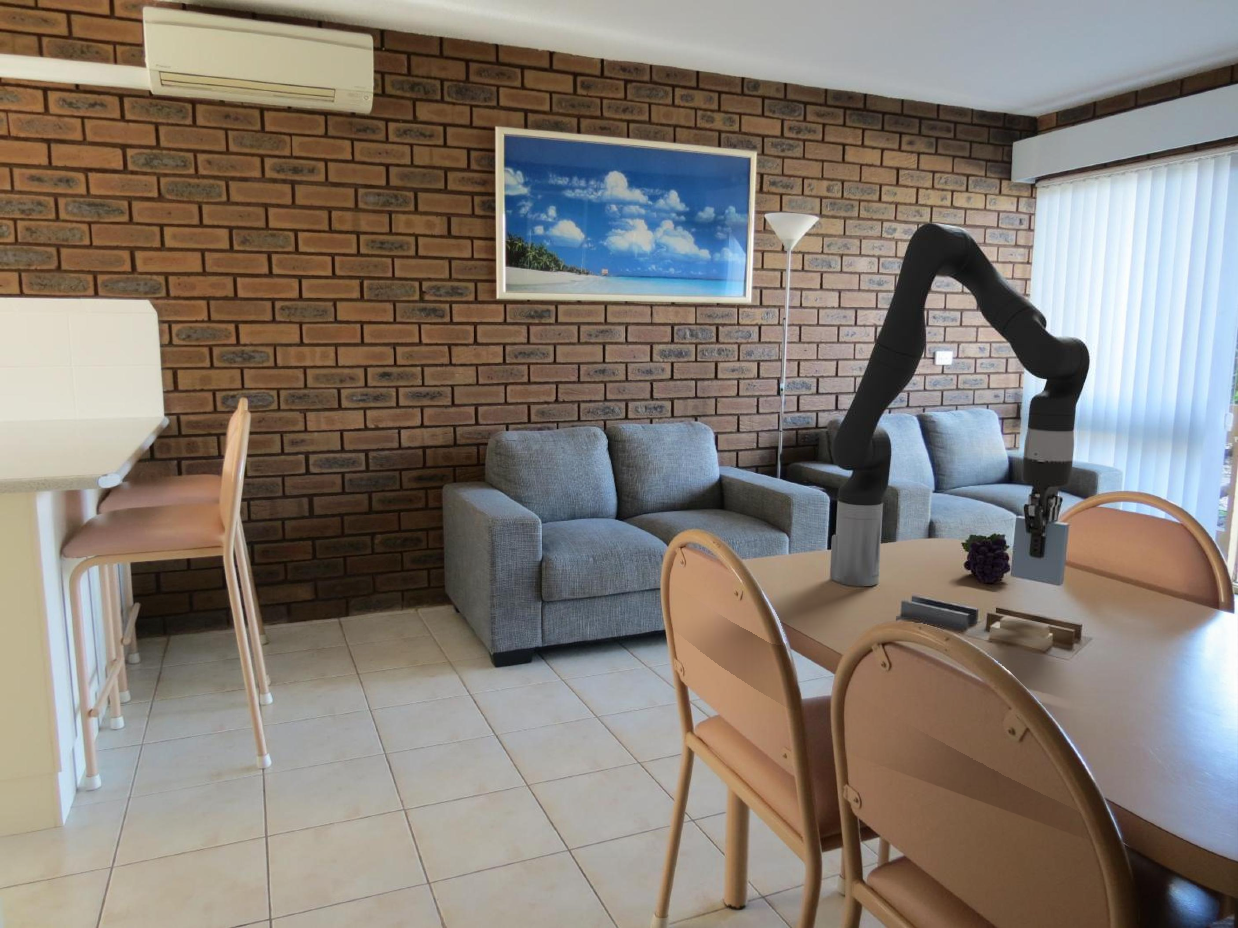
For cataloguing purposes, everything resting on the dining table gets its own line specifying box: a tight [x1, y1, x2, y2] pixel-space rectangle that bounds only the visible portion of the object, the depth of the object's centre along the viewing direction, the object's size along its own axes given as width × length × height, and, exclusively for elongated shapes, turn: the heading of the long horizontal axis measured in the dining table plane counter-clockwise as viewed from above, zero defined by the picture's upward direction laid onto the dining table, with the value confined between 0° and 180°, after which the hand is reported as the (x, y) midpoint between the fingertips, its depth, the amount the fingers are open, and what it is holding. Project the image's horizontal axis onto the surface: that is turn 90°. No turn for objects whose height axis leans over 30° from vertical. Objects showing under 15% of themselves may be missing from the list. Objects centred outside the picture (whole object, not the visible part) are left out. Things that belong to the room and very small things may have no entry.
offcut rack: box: [961, 605, 1094, 661], centre depth 149 cm, size 17×14×4 cm
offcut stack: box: [989, 615, 1053, 651], centre depth 147 cm, size 9×4×4 cm, turn 48°
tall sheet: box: [1009, 515, 1070, 587], centre depth 150 cm, size 8×2×10 cm, turn 48°
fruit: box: [960, 532, 1011, 584], centre depth 189 cm, size 10×11×15 cm
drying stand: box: [895, 594, 981, 633], centre depth 159 cm, size 12×9×4 cm
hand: (1038, 555), depth 150 cm, fingers closed on tall sheet, 1 cm apart
